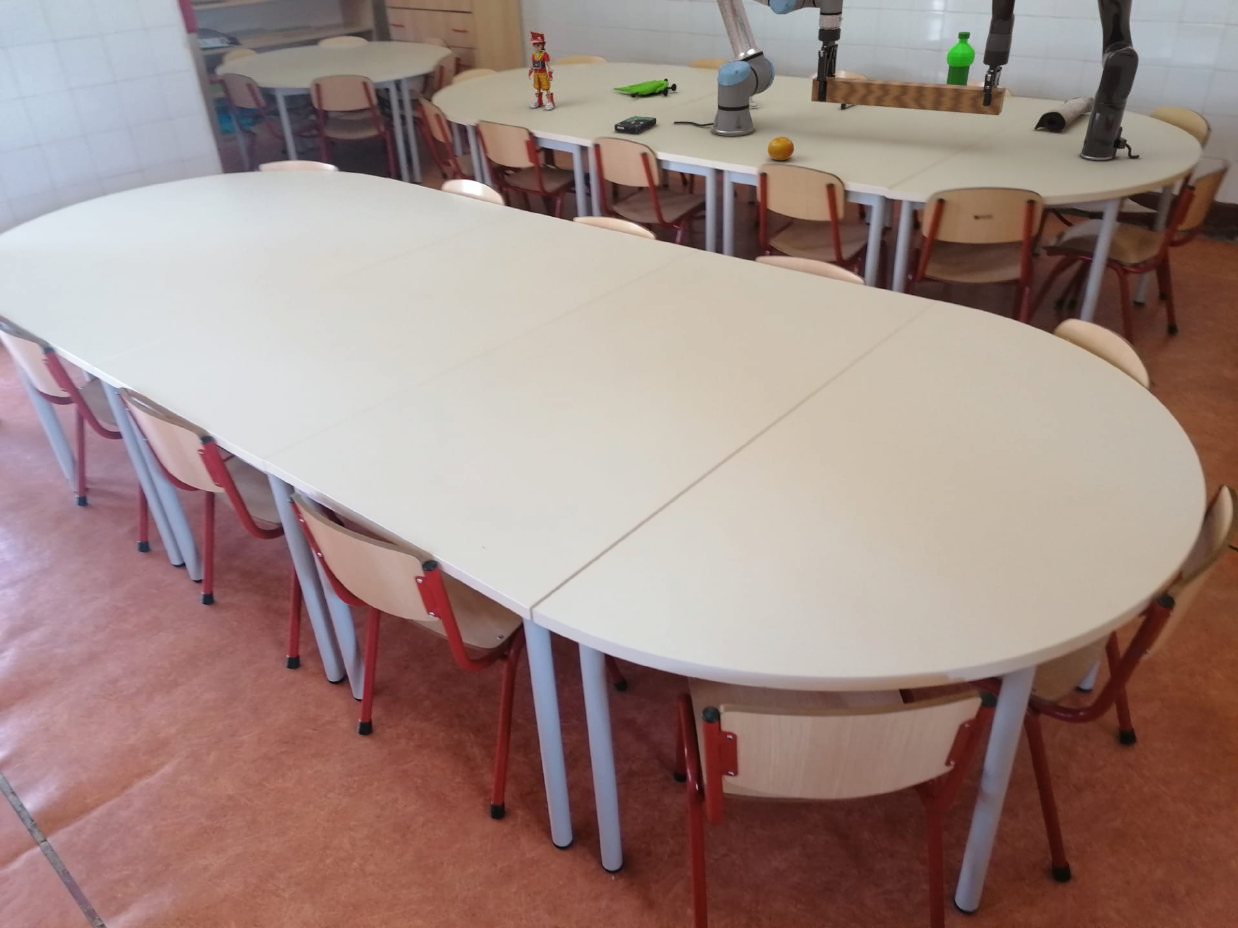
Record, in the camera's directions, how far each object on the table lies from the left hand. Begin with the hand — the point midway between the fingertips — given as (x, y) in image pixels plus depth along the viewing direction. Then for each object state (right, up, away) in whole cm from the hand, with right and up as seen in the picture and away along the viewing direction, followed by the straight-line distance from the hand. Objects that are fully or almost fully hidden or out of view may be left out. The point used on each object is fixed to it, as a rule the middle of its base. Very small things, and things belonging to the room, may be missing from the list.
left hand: (824, 98), depth 322 cm
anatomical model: (-23, +16, +46) cm, 54 cm away
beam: (+24, -8, -12) cm, 28 cm away
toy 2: (-64, +34, +75) cm, 104 cm away
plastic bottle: (+59, +12, +33) cm, 69 cm away
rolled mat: (+87, -8, +2) cm, 88 cm away
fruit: (-19, -28, -17) cm, 38 cm away
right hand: (+48, -12, -26) cm, 56 cm away
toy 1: (-107, +21, +61) cm, 125 cm away
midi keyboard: (+20, +13, +38) cm, 45 cm away
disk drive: (-67, -1, +25) cm, 72 cm away
